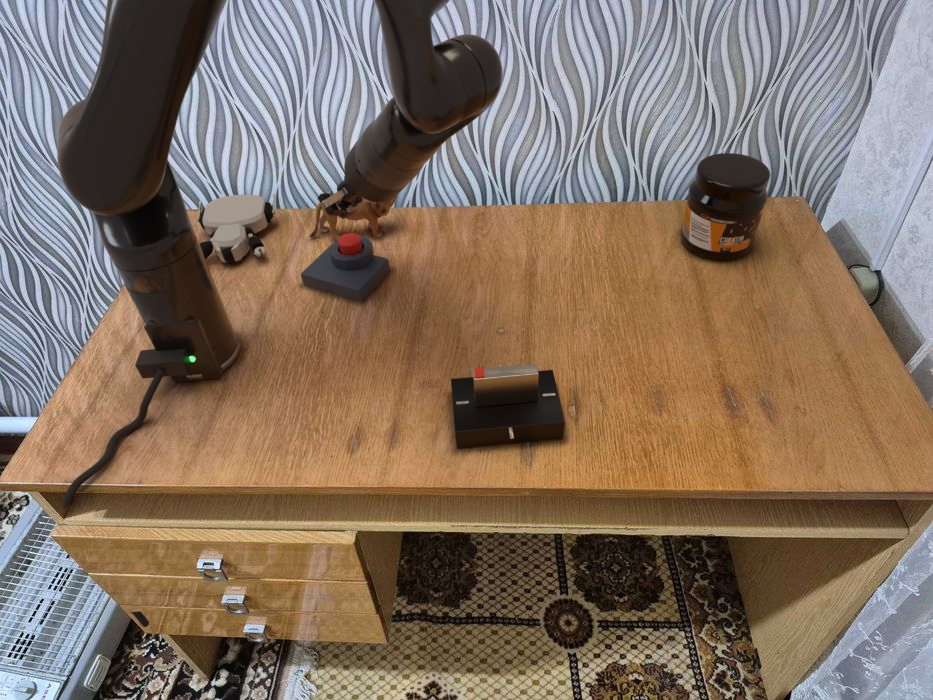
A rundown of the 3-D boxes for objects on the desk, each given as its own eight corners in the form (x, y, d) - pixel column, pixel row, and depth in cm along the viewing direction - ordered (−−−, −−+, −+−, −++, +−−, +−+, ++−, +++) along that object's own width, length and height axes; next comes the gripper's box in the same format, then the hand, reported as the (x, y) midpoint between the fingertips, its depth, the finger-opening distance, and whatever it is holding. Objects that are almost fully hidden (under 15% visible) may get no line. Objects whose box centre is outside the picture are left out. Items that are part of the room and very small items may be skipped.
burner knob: (535, 391, 75) (536, 361, 72) (537, 401, 74) (538, 372, 71) (474, 396, 75) (472, 367, 72) (475, 407, 74) (473, 378, 70)
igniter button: (366, 245, 96) (364, 235, 95) (354, 258, 94) (352, 248, 93) (348, 241, 97) (346, 231, 96) (336, 253, 95) (333, 243, 94)
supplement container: (683, 262, 96) (699, 188, 87) (674, 221, 103) (688, 150, 95) (759, 263, 94) (783, 189, 86) (745, 222, 102) (765, 150, 93)
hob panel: (549, 377, 81) (550, 358, 78) (566, 450, 73) (567, 432, 70) (451, 386, 80) (449, 367, 78) (457, 460, 72) (455, 442, 70)
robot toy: (273, 269, 101) (281, 210, 111) (265, 246, 97) (274, 187, 107) (192, 277, 100) (207, 217, 110) (181, 254, 97) (198, 195, 107)
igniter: (394, 265, 99) (391, 243, 96) (361, 302, 93) (356, 280, 90) (339, 251, 102) (334, 229, 99) (303, 285, 96) (297, 263, 93)
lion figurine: (399, 216, 108) (392, 166, 102) (404, 234, 104) (397, 183, 98) (309, 231, 106) (296, 181, 100) (311, 250, 103) (297, 199, 96)
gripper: (412, 110, 79) (365, 169, 94) (321, 150, 73) (286, 206, 88) (445, 165, 80) (393, 215, 95) (358, 209, 73) (317, 255, 89)
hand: (342, 211), depth 91 cm, fingers closed
